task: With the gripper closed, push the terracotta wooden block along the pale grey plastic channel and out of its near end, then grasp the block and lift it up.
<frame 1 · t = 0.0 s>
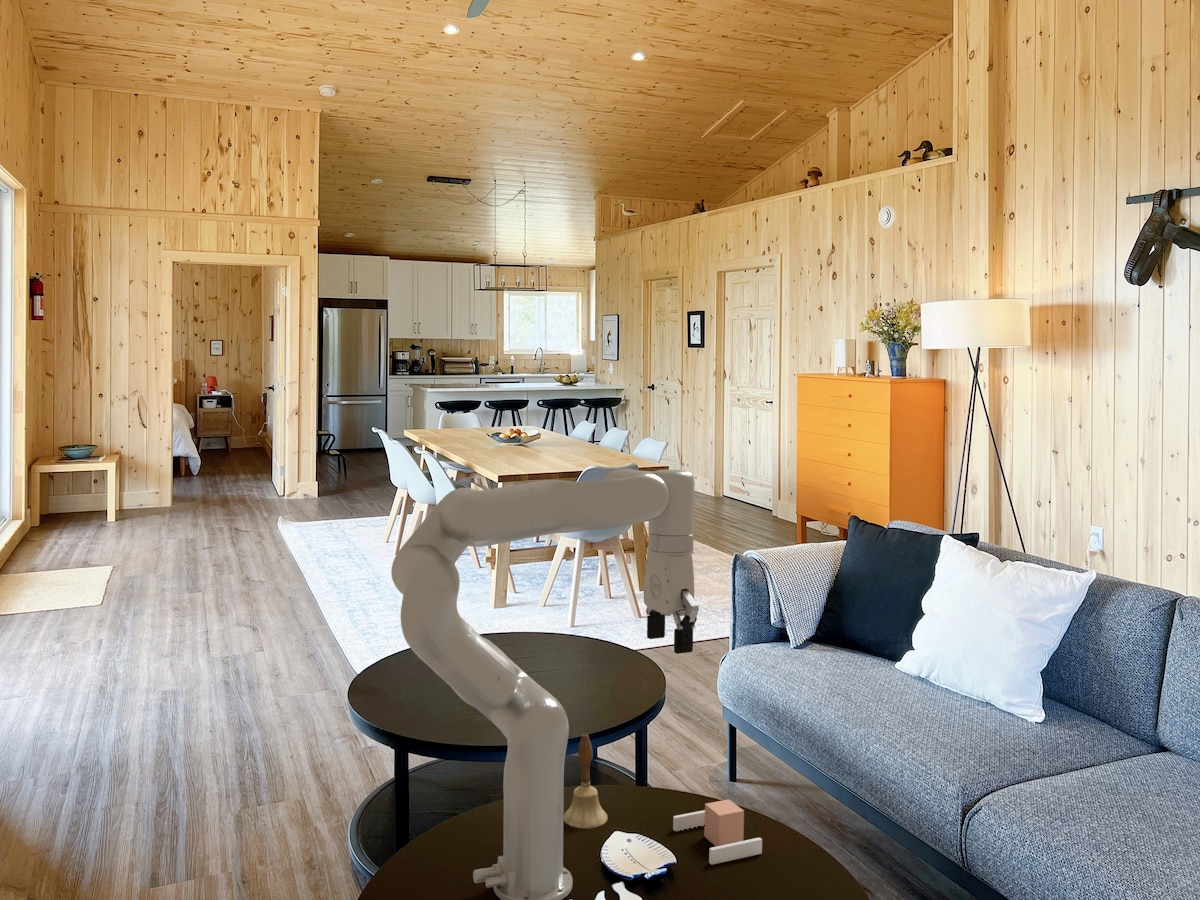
hand: (669, 645, 154), 37 cm above the table, fingers open, 9 cm apart
block: (723, 840, 163), on the table
channel: (716, 841, 162), on the table
hand bell: (585, 819, 171), on the table
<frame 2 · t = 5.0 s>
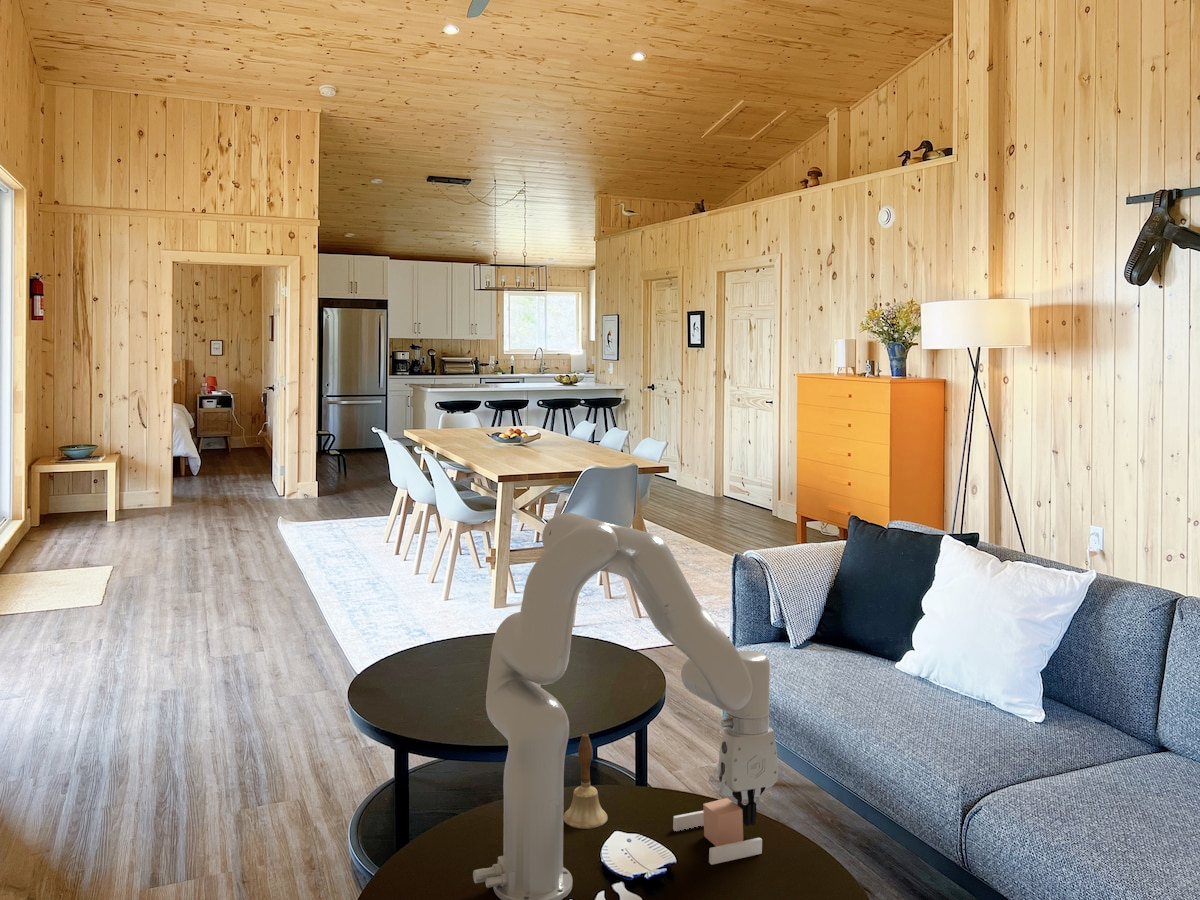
hand: (746, 822, 164), 2 cm above the table, fingers closed
block: (723, 839, 163), on the table, touching gripper
everything else where it was.
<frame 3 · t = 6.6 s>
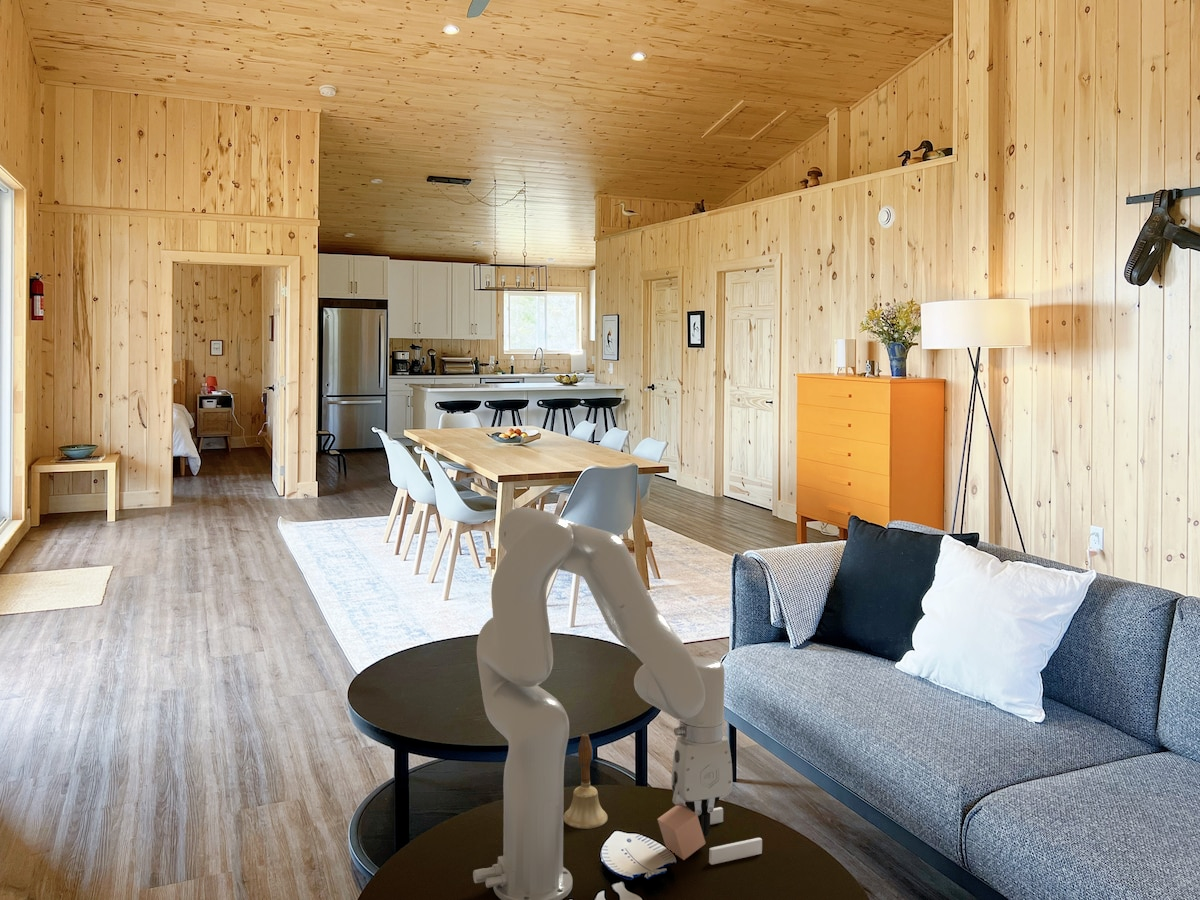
hand: (700, 833, 161), 2 cm above the table, fingers closed
block: (685, 845, 159), point 1 cm above the table, tilted 20°, touching gripper
everything else where it was.
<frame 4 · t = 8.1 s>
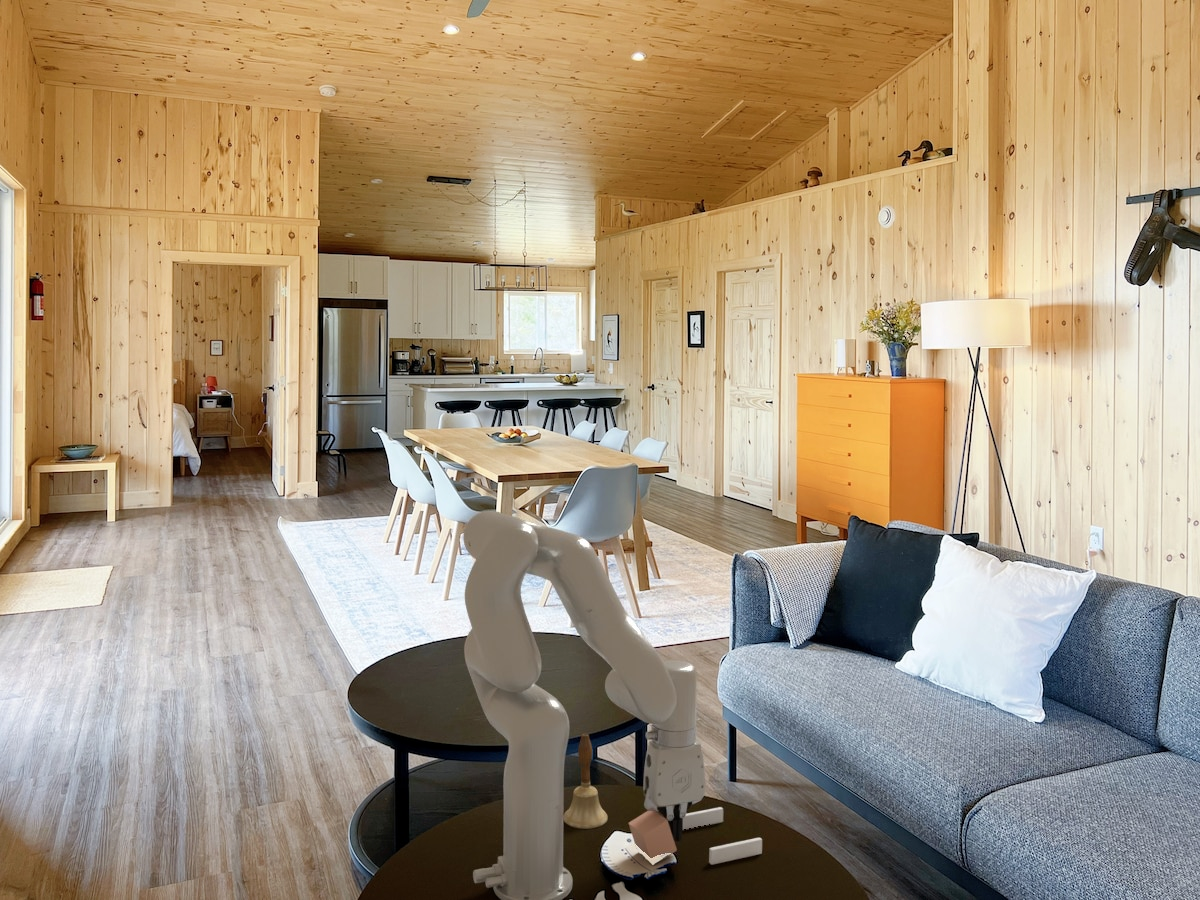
hand: (672, 838, 159), 2 cm above the table, fingers closed
block: (657, 851, 157), point 1 cm above the table, tilted 20°, touching gripper
everything else where it was.
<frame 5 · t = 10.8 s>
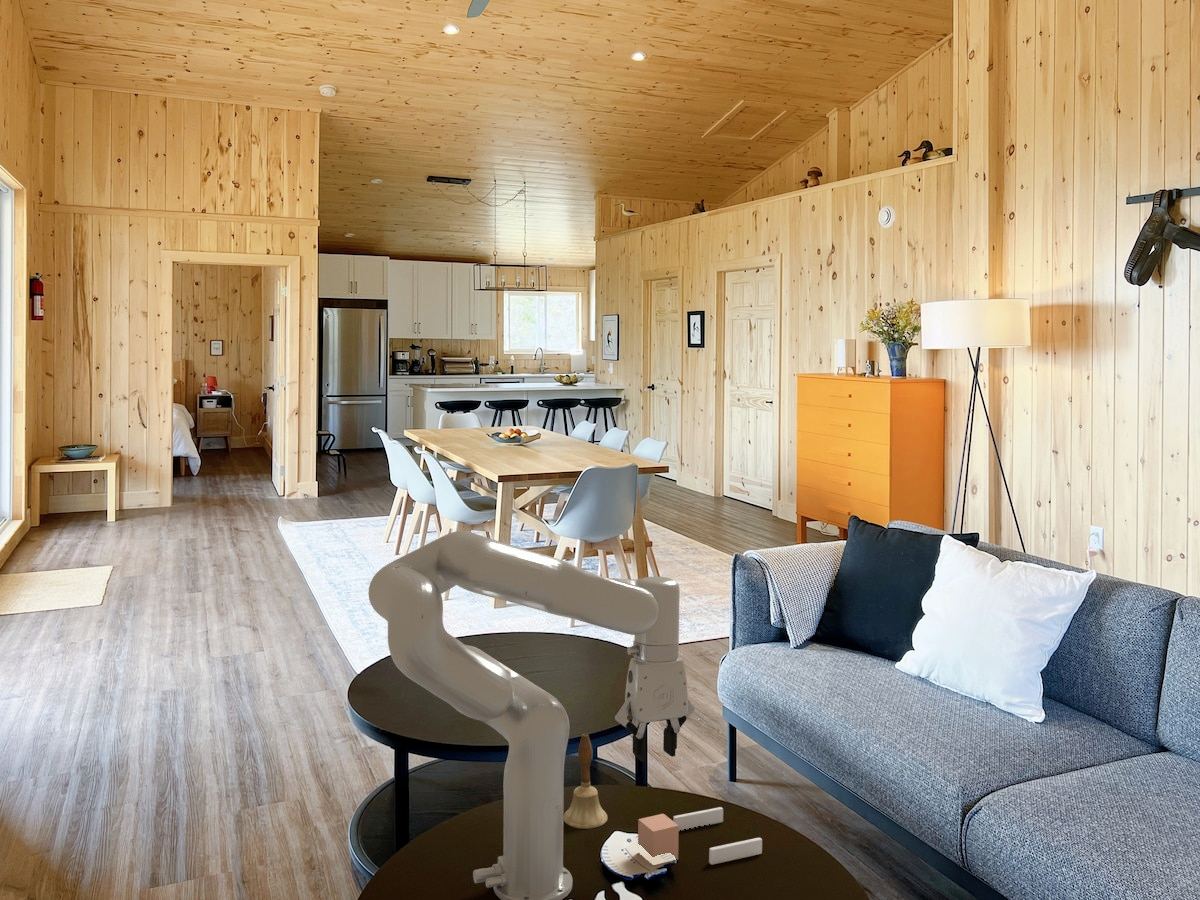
hand: (654, 755, 156), 17 cm above the table, fingers open, 4 cm apart
block: (657, 856, 157), on the table
everything else where it was.
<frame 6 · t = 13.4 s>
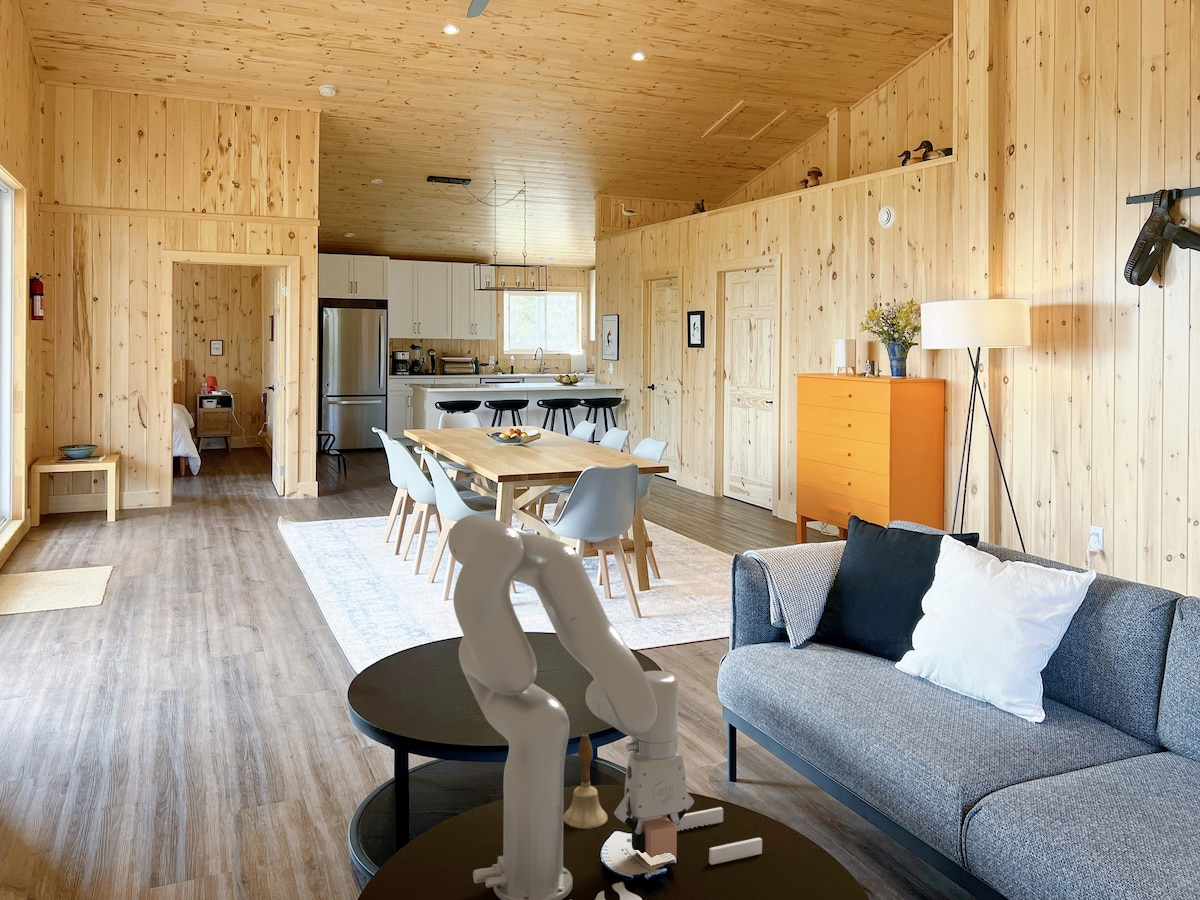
hand: (654, 848, 157), 1 cm above the table, fingers closed on block, 5 cm apart
block: (656, 856, 157), on the table, touching gripper
everything else where it was.
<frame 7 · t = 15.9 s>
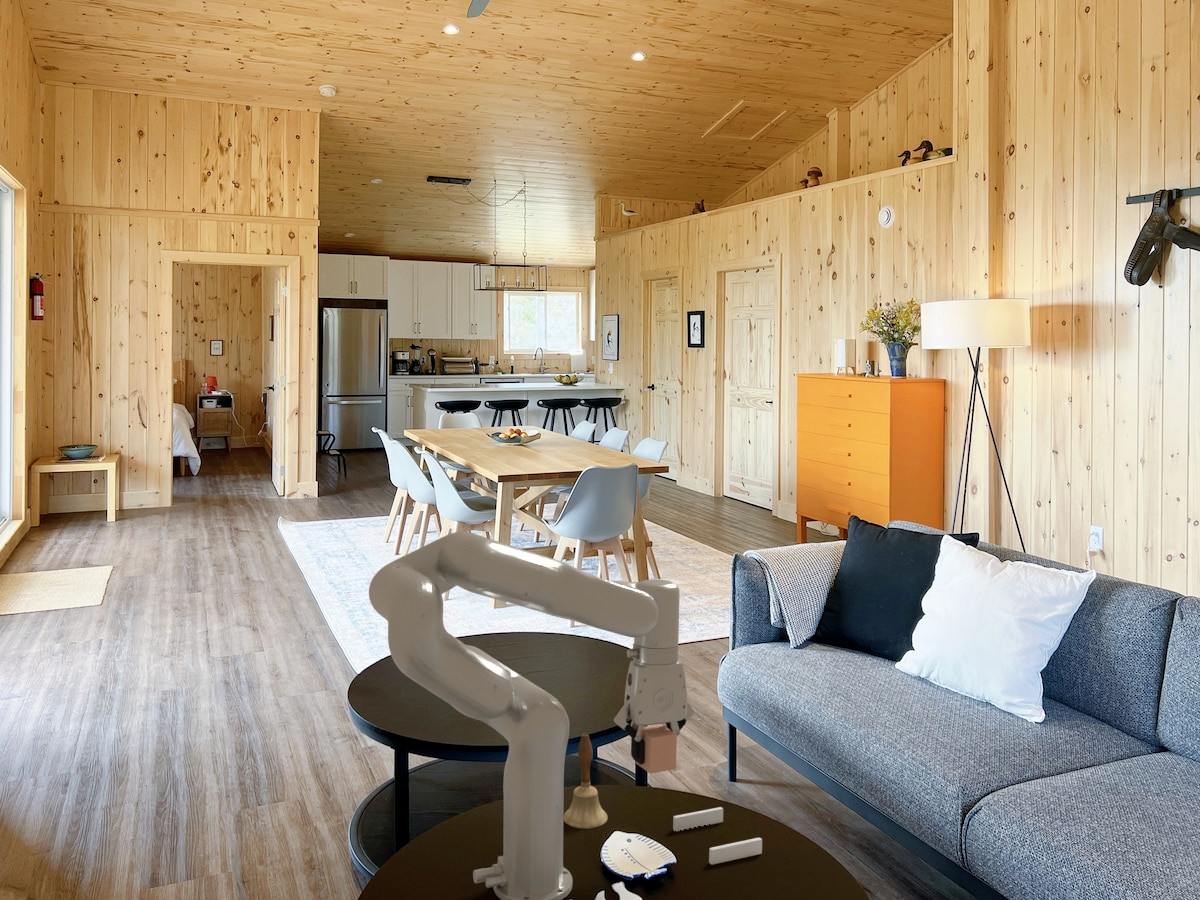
hand: (653, 758, 156), 17 cm above the table, fingers closed on block, 5 cm apart
block: (655, 765, 156), point 16 cm above the table, touching gripper
everything else where it was.
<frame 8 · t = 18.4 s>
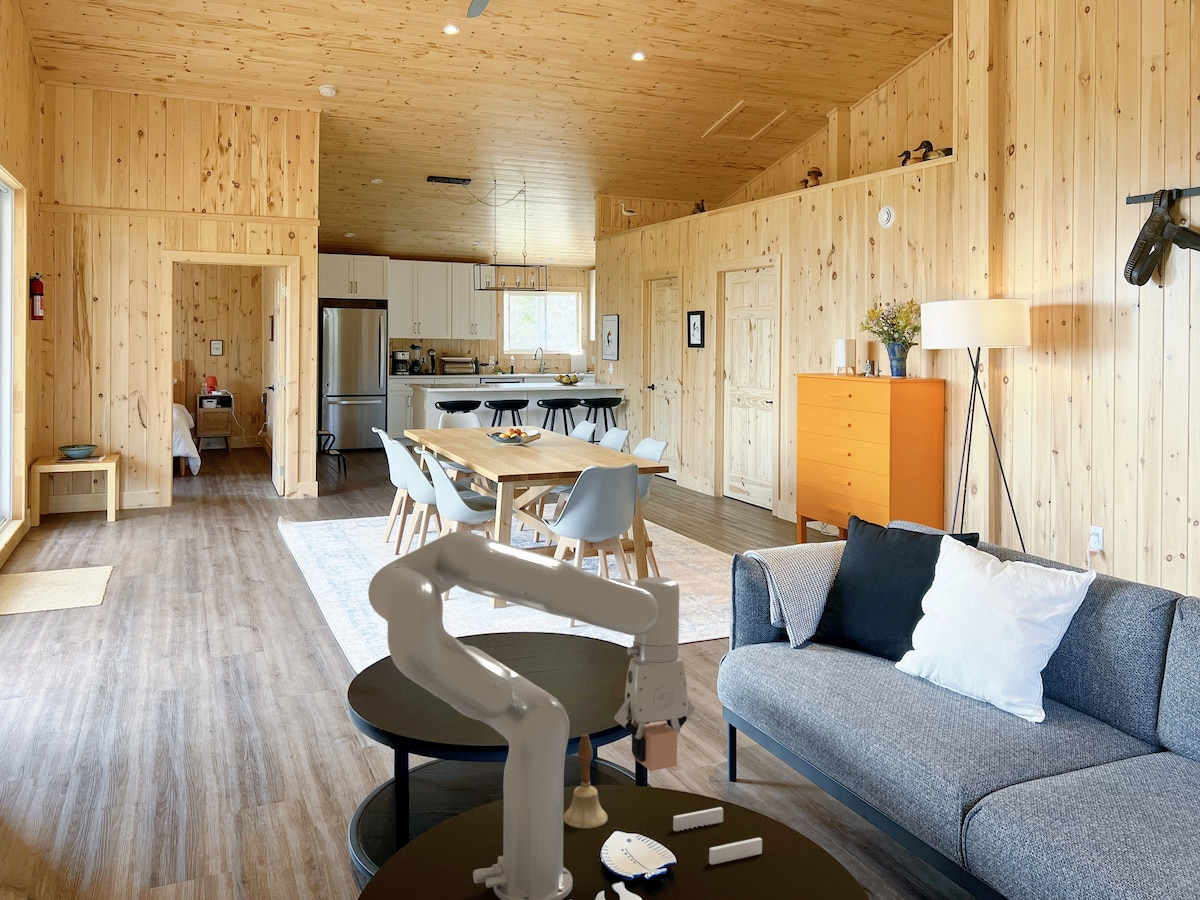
hand: (654, 755, 156), 17 cm above the table, fingers closed on block, 5 cm apart
block: (656, 763, 156), point 16 cm above the table, touching gripper
everything else where it was.
at the end: block inside the target area (1.2 cm from its centre), point 16.3 cm above the table; the gripper is holding block; block touching gripper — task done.
